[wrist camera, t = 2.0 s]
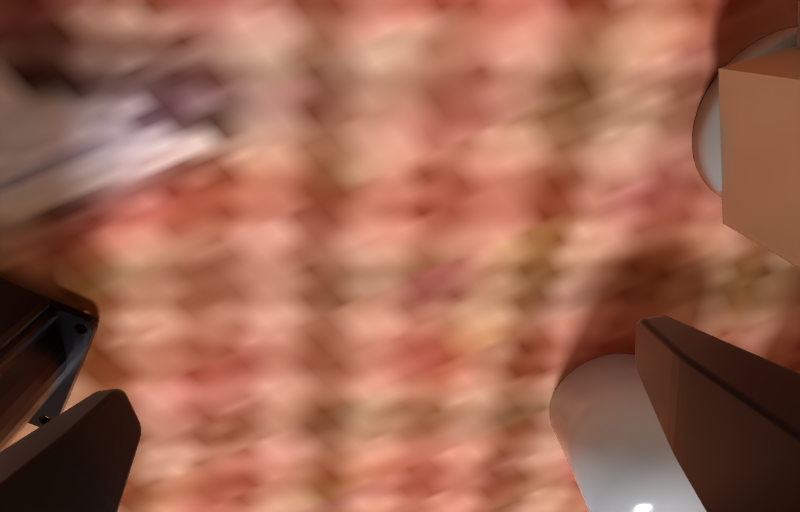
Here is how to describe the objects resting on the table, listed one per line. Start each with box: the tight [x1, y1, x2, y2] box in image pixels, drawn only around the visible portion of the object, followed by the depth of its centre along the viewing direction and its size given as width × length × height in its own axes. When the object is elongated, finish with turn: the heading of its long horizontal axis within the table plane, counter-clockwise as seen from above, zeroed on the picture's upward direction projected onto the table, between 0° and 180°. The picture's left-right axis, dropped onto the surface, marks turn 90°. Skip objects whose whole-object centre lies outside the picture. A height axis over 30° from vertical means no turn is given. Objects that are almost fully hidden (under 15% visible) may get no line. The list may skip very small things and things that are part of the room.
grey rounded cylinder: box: [549, 353, 706, 512], centre depth 23 cm, size 6×6×6 cm
